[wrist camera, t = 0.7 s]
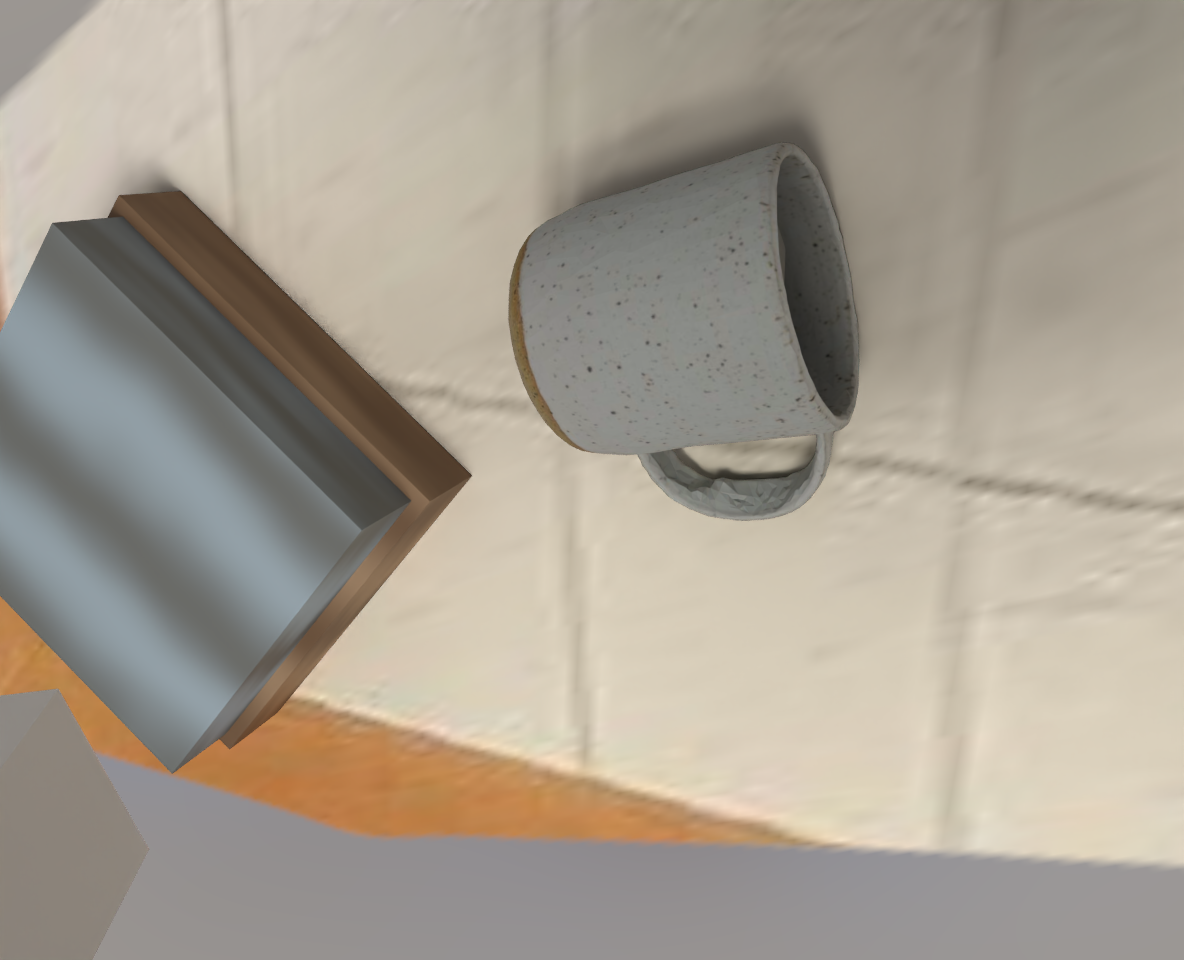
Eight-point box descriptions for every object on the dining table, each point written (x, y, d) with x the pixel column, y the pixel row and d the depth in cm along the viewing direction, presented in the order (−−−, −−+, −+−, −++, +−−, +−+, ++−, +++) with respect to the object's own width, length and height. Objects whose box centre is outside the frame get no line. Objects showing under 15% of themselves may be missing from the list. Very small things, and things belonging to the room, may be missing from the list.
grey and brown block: (180, 190, 39) (47, 200, 34) (471, 476, 38) (381, 530, 33) (33, 465, 46) (-97, 508, 41) (277, 712, 45) (175, 790, 40)
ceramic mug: (568, 212, 34) (454, 237, 27) (821, 135, 31) (762, 142, 24) (655, 522, 36) (569, 616, 30) (900, 482, 33) (866, 579, 26)
